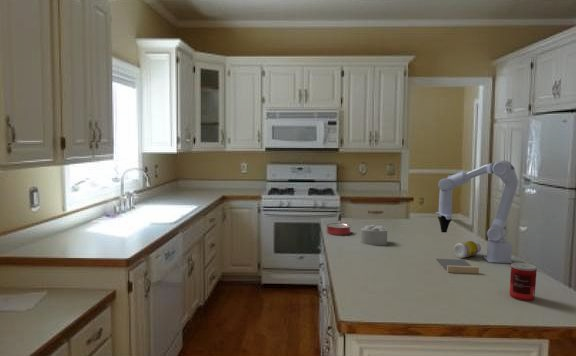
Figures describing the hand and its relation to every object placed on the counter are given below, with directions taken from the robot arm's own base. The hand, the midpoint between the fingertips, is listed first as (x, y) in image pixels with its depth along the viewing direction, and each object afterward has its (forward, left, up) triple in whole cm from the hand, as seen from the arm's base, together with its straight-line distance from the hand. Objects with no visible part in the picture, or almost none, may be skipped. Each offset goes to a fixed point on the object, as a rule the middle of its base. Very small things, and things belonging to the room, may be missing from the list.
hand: (443, 232), depth 212 cm
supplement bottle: (-4, +10, -6) cm, 13 cm away
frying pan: (+49, -45, -10) cm, 67 cm away
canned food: (-12, +59, -10) cm, 61 cm away
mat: (0, +23, -10) cm, 25 cm away
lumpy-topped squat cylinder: (+31, -15, -10) cm, 36 cm away
